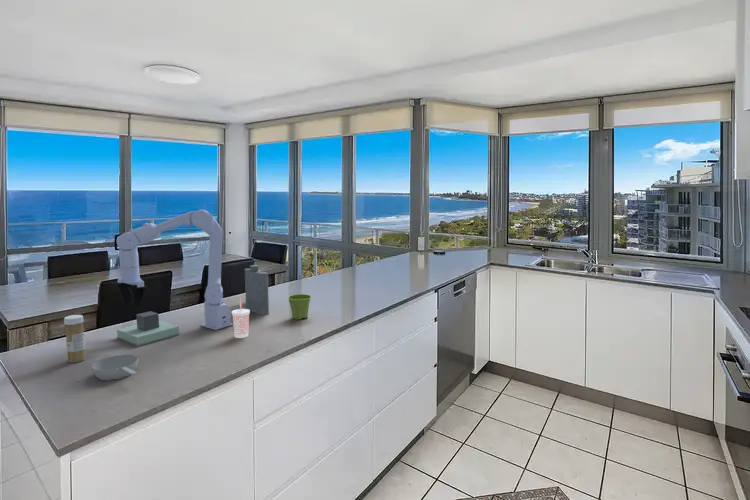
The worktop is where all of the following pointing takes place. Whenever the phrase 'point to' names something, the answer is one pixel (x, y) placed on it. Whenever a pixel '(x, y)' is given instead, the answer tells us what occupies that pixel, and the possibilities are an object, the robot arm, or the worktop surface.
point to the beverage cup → (241, 322)
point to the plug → (147, 321)
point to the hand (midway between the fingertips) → (132, 304)
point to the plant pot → (299, 305)
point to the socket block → (147, 333)
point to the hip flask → (256, 290)
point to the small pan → (115, 367)
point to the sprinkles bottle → (75, 338)
